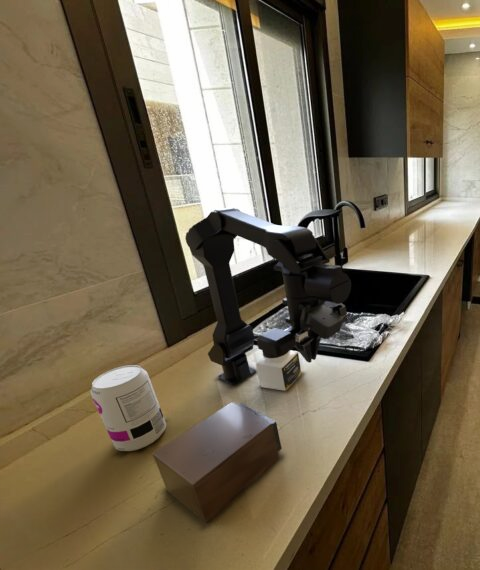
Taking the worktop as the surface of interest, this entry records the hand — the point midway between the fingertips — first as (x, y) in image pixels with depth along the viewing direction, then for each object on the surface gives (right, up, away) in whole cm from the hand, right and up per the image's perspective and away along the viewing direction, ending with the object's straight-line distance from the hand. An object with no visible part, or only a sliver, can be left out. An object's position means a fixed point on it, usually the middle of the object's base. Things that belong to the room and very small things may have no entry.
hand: (311, 360), depth 70 cm
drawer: (-11, -16, -9) cm, 22 cm away
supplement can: (-33, -15, -3) cm, 37 cm away
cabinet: (-12, -18, -11) cm, 24 cm away
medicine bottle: (-12, -9, +14) cm, 21 cm away
